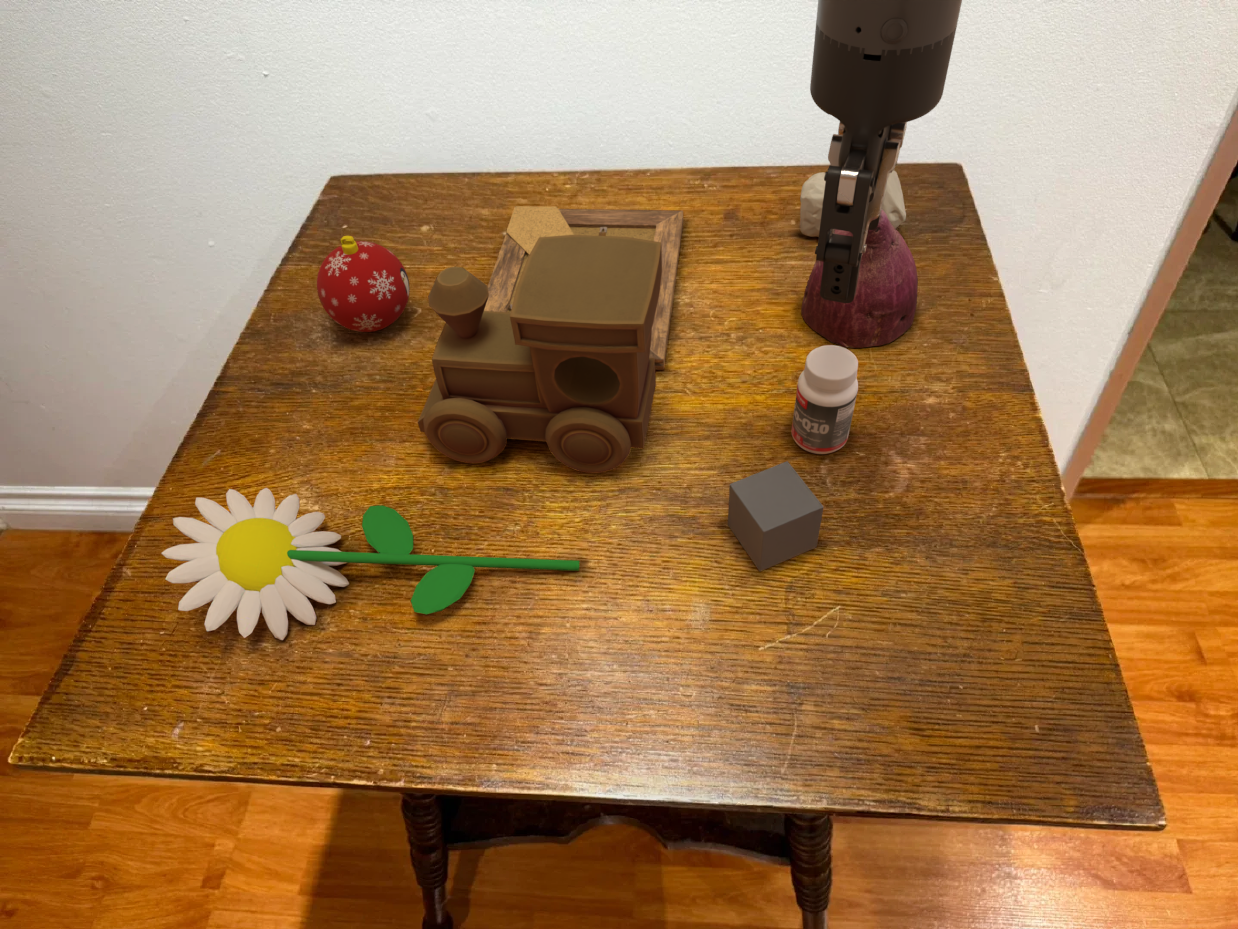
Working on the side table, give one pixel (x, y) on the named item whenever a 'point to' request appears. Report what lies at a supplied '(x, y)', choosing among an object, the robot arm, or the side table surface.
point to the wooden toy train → (549, 355)
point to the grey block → (774, 515)
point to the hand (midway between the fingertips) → (850, 260)
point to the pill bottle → (825, 399)
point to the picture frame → (594, 222)
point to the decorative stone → (815, 194)
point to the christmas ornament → (362, 285)
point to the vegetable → (868, 294)
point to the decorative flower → (303, 561)
